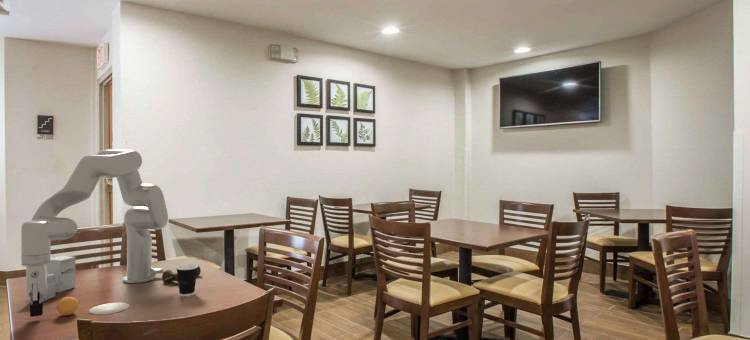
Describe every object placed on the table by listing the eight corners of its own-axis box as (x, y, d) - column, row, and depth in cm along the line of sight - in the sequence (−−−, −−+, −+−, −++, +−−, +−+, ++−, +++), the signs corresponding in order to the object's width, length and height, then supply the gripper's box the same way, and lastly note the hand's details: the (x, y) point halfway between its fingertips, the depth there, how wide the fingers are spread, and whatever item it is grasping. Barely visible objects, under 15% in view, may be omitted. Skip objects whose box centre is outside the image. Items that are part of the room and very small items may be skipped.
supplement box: (59, 292, 173) (59, 260, 172) (44, 291, 174) (43, 259, 174) (76, 287, 180) (76, 256, 180) (60, 286, 181) (60, 255, 181)
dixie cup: (197, 290, 178) (197, 263, 178) (198, 296, 171) (198, 267, 170) (175, 293, 174) (175, 265, 174) (176, 299, 167) (176, 269, 167)
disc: (127, 301, 164) (127, 300, 164) (130, 310, 154) (130, 310, 154) (88, 306, 157) (88, 306, 157) (89, 317, 147) (89, 316, 147)
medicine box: (43, 296, 168) (43, 273, 168) (55, 296, 168) (55, 273, 168) (29, 303, 160) (28, 279, 160) (42, 303, 161) (42, 279, 160)
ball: (78, 310, 153) (78, 293, 153) (78, 315, 148) (78, 298, 148) (57, 313, 150) (57, 296, 150) (56, 319, 145) (56, 301, 145)
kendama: (205, 277, 200) (173, 288, 181) (187, 276, 203) (154, 286, 184) (205, 264, 200) (173, 273, 181) (187, 263, 203) (154, 272, 184)
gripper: (49, 262, 140) (49, 320, 140) (51, 253, 152) (52, 306, 152) (18, 265, 135) (18, 324, 136) (24, 256, 148) (24, 310, 148)
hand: (36, 315), depth 144 cm, fingers closed
